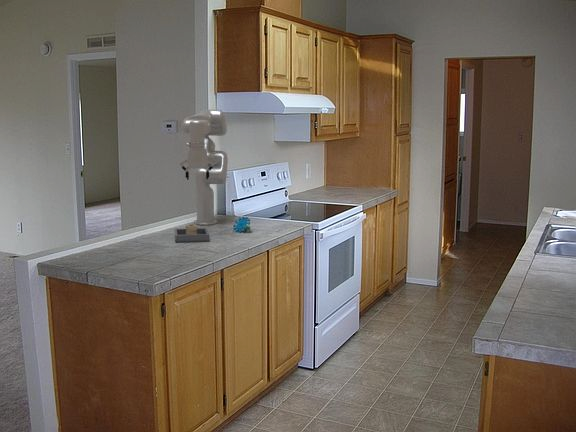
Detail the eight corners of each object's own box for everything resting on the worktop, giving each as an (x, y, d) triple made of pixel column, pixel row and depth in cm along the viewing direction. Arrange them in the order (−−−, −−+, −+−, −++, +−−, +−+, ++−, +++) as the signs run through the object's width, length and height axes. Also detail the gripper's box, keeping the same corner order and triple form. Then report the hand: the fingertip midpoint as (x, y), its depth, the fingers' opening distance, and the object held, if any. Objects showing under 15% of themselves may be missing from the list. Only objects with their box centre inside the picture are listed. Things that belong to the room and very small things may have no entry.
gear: (228, 227, 327) (240, 213, 330) (234, 234, 331) (245, 220, 334) (242, 234, 320) (253, 219, 323) (247, 240, 324) (259, 225, 327)
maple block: (186, 236, 310) (185, 224, 308) (196, 235, 311) (196, 223, 309) (186, 238, 305) (186, 226, 304) (196, 238, 306) (196, 225, 305)
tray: (174, 235, 314) (174, 229, 313) (206, 234, 317) (206, 228, 316) (175, 242, 298) (175, 235, 298) (209, 241, 302) (209, 234, 301)
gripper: (179, 146, 305) (180, 180, 309) (215, 146, 309) (215, 180, 312) (179, 144, 313) (179, 178, 316) (213, 144, 316) (213, 178, 319)
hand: (197, 179), depth 314 cm, fingers open, 9 cm apart
